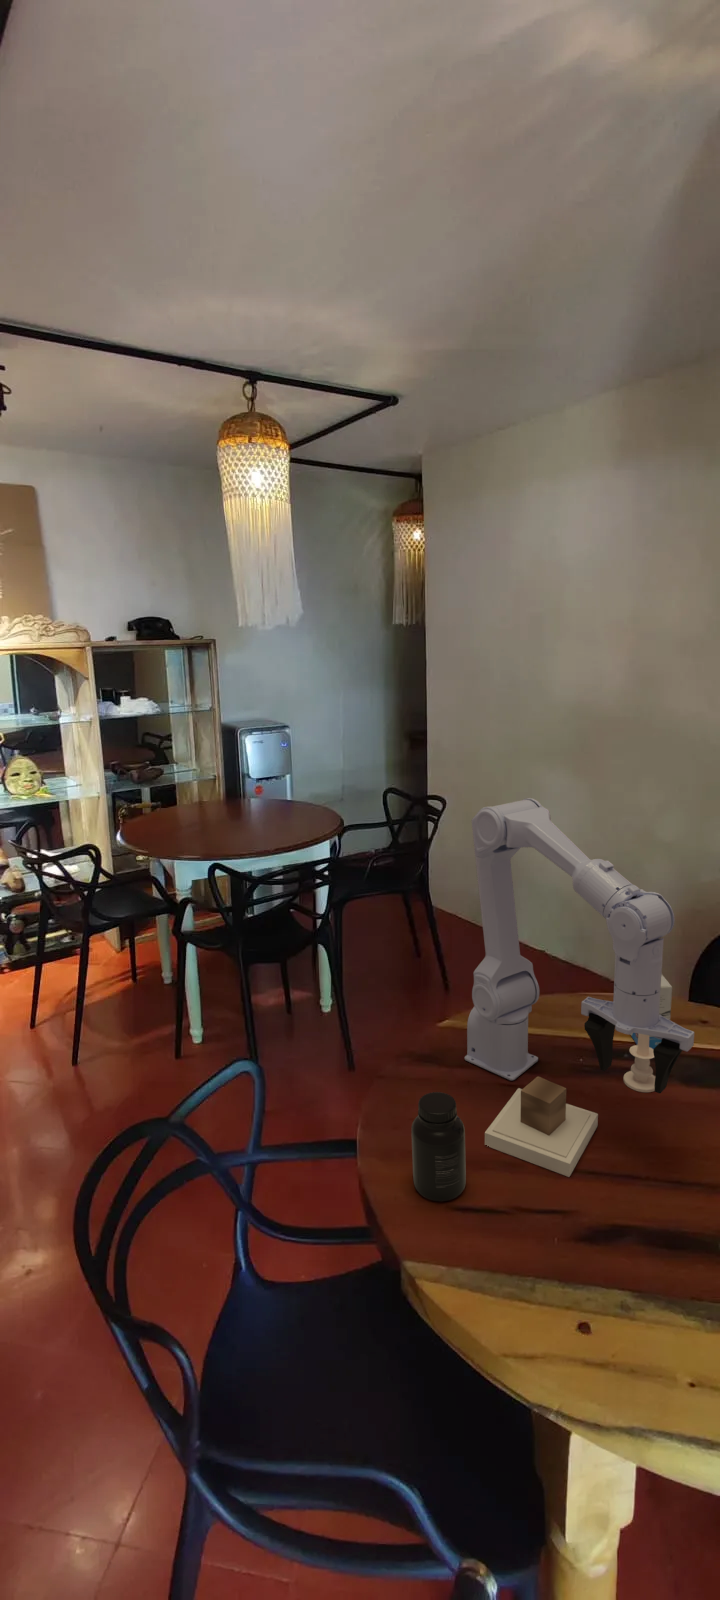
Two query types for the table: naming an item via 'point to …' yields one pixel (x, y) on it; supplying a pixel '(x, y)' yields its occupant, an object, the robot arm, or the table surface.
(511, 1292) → the table surface
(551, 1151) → the plate
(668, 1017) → the ink box
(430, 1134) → the supplement bottle
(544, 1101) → the block
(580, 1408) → the table surface
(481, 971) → the robot arm
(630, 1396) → the table surface
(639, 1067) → the candle
